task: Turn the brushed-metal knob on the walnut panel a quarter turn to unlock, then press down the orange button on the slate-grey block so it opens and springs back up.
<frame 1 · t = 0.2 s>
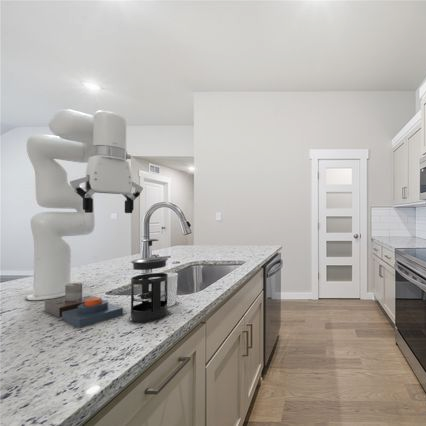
hand: (109, 212, 74), 31 cm above the countertop, tool pointing down, fingers open, 9 cm apart
button block: (93, 317, 74), on the countertop
white cup: (164, 305, 85), on the countertop
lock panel: (73, 309, 81), on the countertop
lock knob: (73, 291, 81), point 6 cm above the countertop, hinge at 0.0°
french press: (150, 317, 74), on the countertop
release button: (93, 302, 75), point 4 cm above the countertop, slide at 0.1 cm
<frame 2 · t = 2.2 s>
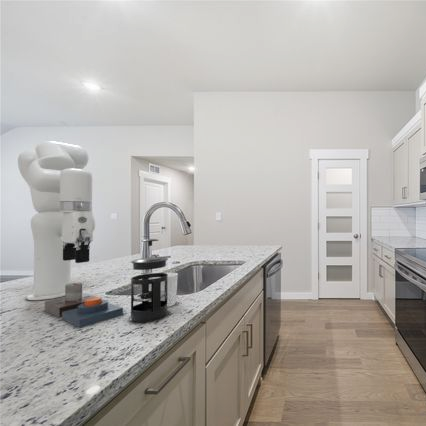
hand: (75, 261, 81), 15 cm above the countertop, tool pointing down, fingers open, 9 cm apart
nothing on the countertop moved.
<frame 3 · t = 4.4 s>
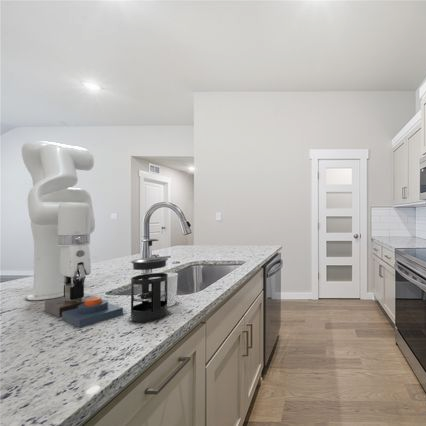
hand: (73, 296, 81), 4 cm above the countertop, tool pointing down, fingers closed on lock knob, 4 cm apart
lock knob: (73, 291, 81), point 6 cm above the countertop, hinge at 0.0°, touching gripper
everything else where it was.
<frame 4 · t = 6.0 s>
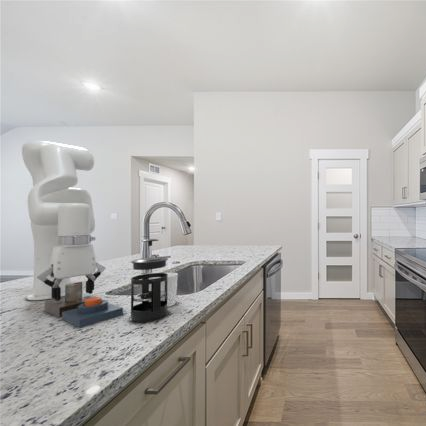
hand: (73, 295, 81), 4 cm above the countertop, tool pointing down, fingers open, 7 cm apart
lock knob: (73, 291, 81), point 6 cm above the countertop, hinge at 89.3°
everything else where it was.
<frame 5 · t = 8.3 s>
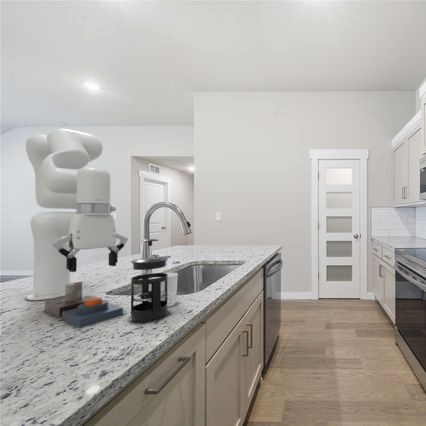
hand: (93, 268, 75), 14 cm above the countertop, tool pointing down, fingers open, 8 cm apart
nothing on the countertop moved.
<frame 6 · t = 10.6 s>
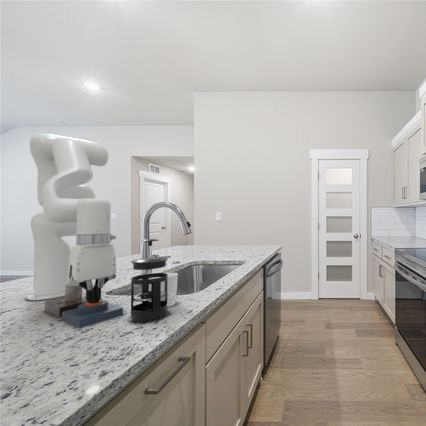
hand: (93, 302, 74), 4 cm above the countertop, tool pointing down, fingers closed
release button: (93, 305, 75), point 4 cm above the countertop, slide at -0.8 cm, touching gripper
everything else where it was.
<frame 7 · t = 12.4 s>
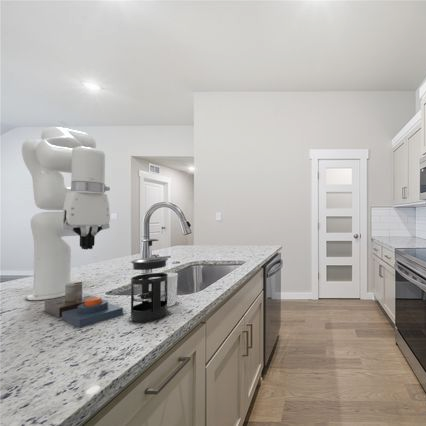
hand: (87, 248, 77), 20 cm above the countertop, tool pointing down, fingers closed
release button: (93, 302, 75), point 4 cm above the countertop, slide at 0.1 cm
everything else where it was.
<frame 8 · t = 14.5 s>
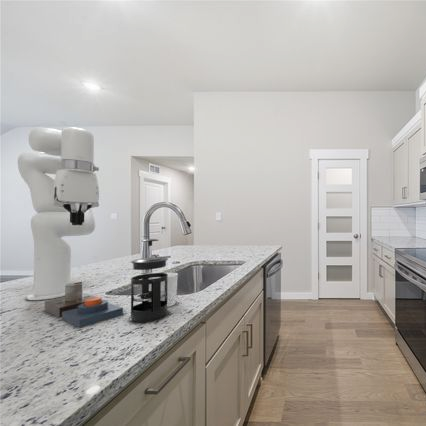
hand: (77, 225, 81), 27 cm above the countertop, tool pointing down, fingers closed
nothing on the countertop moved.
at the end: lock knob at +89° (first picture: +0°); release button pushed in 1.1 cm at the most during the clip and back out by the end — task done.
